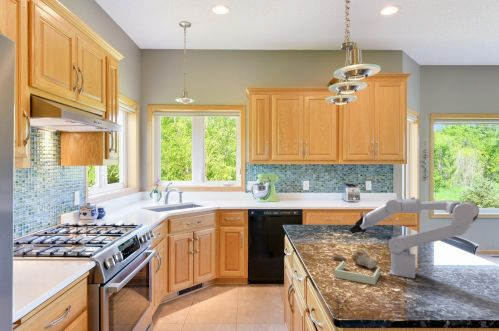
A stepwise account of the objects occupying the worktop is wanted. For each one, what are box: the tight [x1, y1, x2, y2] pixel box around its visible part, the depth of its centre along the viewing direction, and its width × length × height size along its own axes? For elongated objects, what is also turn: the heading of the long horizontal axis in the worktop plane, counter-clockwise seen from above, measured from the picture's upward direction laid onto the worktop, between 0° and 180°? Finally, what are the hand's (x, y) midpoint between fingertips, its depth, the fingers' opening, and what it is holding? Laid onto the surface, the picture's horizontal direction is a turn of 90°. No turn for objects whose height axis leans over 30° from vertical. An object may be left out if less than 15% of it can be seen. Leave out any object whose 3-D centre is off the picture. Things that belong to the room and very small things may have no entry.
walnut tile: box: [332, 253, 345, 262], centre depth 145 cm, size 5×5×2 cm
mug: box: [351, 248, 378, 270], centre depth 135 cm, size 8×10×10 cm
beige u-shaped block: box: [333, 260, 381, 286], centre depth 124 cm, size 16×13×3 cm
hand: (353, 228), depth 141 cm, fingers open, 7 cm apart
